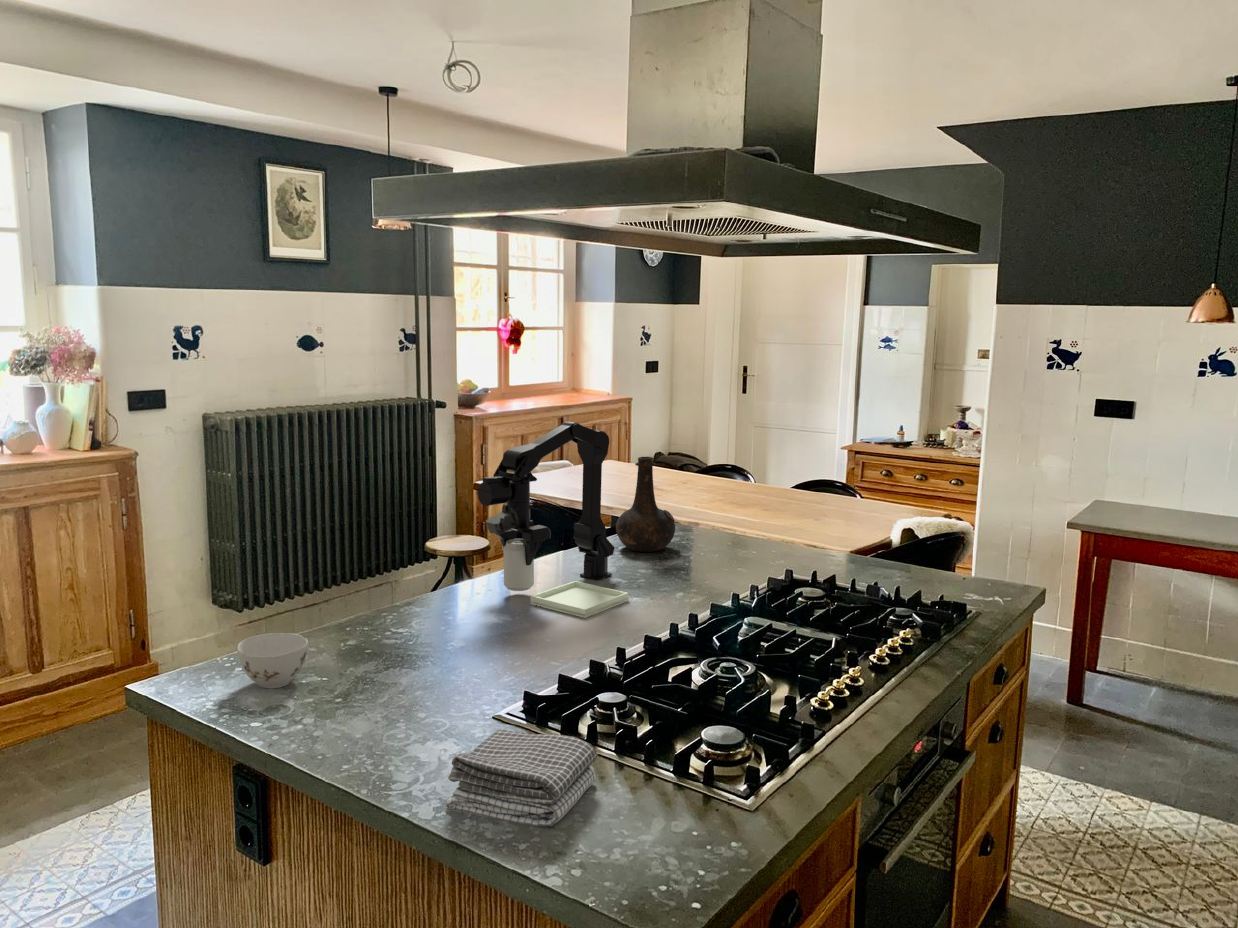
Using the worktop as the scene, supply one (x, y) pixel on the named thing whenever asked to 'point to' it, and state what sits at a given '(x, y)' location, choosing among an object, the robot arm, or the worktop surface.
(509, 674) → the worktop surface
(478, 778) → the towel
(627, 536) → the glass bottle
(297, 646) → the teacup
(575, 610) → the tray
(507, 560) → the can
